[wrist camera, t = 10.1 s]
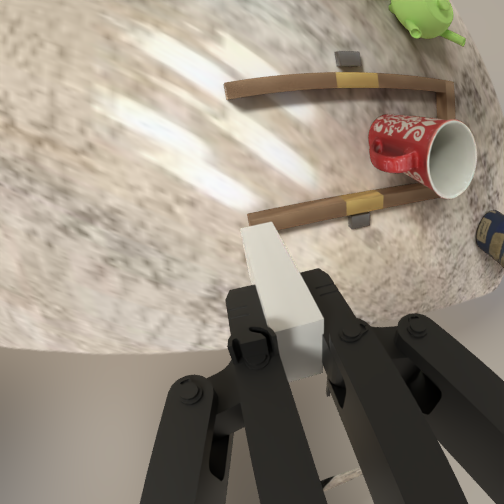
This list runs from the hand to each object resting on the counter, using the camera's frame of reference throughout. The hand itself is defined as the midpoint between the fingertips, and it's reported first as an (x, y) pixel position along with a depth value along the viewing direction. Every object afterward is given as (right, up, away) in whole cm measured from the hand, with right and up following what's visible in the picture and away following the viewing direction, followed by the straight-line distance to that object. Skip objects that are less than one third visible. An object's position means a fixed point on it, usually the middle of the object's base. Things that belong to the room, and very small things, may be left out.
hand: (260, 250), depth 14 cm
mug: (+17, +16, +22) cm, 32 cm away
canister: (+51, +5, +34) cm, 61 cm away
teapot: (+22, +34, +12) cm, 43 cm away
